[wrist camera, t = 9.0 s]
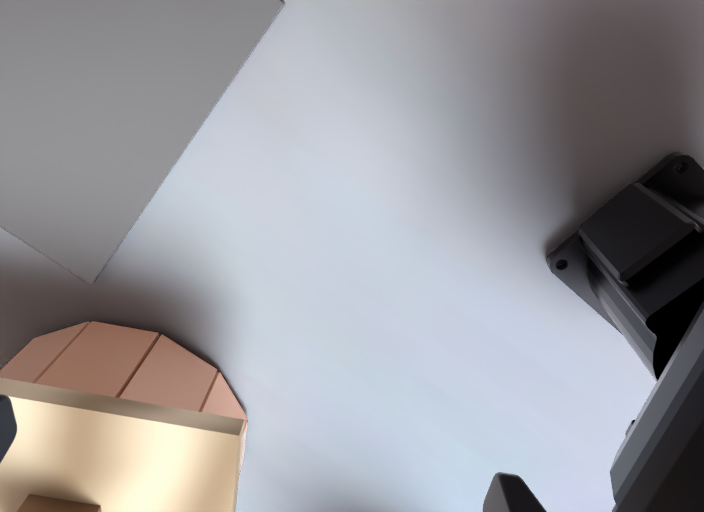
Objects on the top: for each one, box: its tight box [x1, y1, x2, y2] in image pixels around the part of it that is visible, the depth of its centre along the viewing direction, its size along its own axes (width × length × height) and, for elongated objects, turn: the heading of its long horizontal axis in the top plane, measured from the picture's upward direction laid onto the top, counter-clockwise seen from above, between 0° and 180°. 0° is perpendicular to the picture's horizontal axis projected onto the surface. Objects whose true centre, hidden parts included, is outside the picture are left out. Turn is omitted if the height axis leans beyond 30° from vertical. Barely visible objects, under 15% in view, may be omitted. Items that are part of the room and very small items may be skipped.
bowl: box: [0, 321, 248, 474], centre depth 24 cm, size 13×13×6 cm
